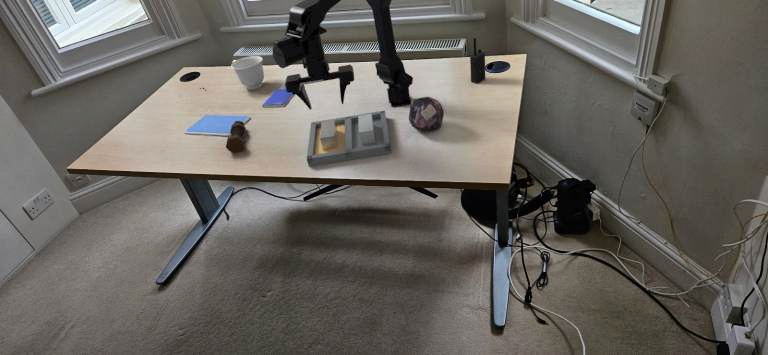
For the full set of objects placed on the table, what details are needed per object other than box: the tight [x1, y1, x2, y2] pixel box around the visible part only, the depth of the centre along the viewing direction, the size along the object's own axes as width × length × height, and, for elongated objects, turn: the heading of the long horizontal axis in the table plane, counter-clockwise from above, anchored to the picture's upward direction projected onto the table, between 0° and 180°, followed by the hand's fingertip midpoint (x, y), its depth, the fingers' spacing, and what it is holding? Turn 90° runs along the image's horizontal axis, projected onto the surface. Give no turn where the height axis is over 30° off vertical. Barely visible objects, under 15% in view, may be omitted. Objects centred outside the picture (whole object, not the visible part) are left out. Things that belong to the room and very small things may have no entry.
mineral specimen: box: [408, 96, 444, 133], centre depth 134 cm, size 10×10×10 cm
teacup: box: [230, 55, 265, 90], centre depth 180 cm, size 12×15×10 cm
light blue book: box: [184, 114, 251, 137], centre depth 158 cm, size 19×13×1 cm, turn 70°
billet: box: [320, 118, 338, 150], centre depth 136 cm, size 4×10×4 cm, turn 4°
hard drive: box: [261, 88, 294, 108], centre depth 169 cm, size 2×8×12 cm
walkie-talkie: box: [469, 37, 486, 84], centre depth 153 cm, size 5×3×15 cm
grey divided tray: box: [306, 110, 392, 167], centre depth 136 cm, size 23×21×5 cm
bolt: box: [225, 121, 247, 154], centre depth 146 cm, size 6×5×15 cm
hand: (326, 106), depth 133 cm, fingers open, 9 cm apart
